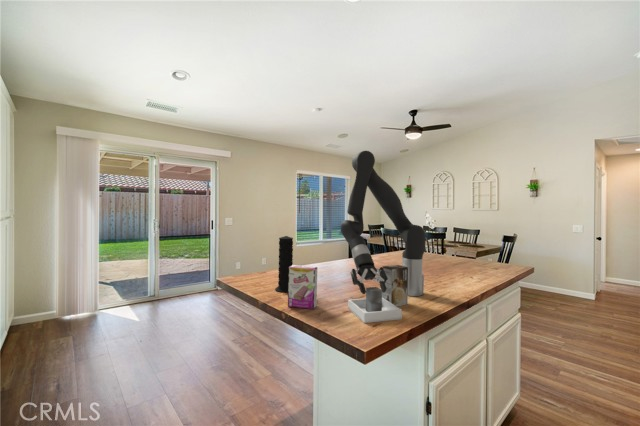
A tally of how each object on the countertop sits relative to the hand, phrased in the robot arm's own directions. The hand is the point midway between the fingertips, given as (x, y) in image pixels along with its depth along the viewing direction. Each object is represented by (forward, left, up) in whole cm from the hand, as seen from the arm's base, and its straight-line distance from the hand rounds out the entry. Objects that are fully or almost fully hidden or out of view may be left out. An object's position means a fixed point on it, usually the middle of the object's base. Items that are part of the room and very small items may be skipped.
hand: (374, 292), depth 107 cm
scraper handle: (0, 0, -8) cm, 8 cm away
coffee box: (-14, -8, -8) cm, 18 cm away
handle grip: (+28, -39, -8) cm, 49 cm away
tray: (0, 0, -8) cm, 8 cm away
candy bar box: (+25, -14, -8) cm, 30 cm away
